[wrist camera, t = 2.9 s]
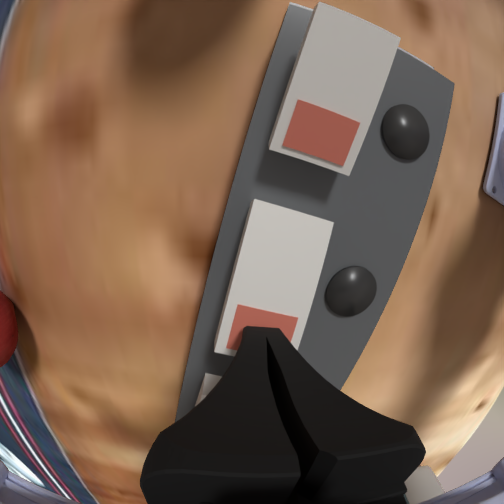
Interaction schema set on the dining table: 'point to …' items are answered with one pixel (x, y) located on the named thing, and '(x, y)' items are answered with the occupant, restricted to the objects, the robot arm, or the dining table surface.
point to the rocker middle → (273, 274)
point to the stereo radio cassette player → (422, 486)
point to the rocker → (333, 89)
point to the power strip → (332, 210)
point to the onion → (7, 329)
